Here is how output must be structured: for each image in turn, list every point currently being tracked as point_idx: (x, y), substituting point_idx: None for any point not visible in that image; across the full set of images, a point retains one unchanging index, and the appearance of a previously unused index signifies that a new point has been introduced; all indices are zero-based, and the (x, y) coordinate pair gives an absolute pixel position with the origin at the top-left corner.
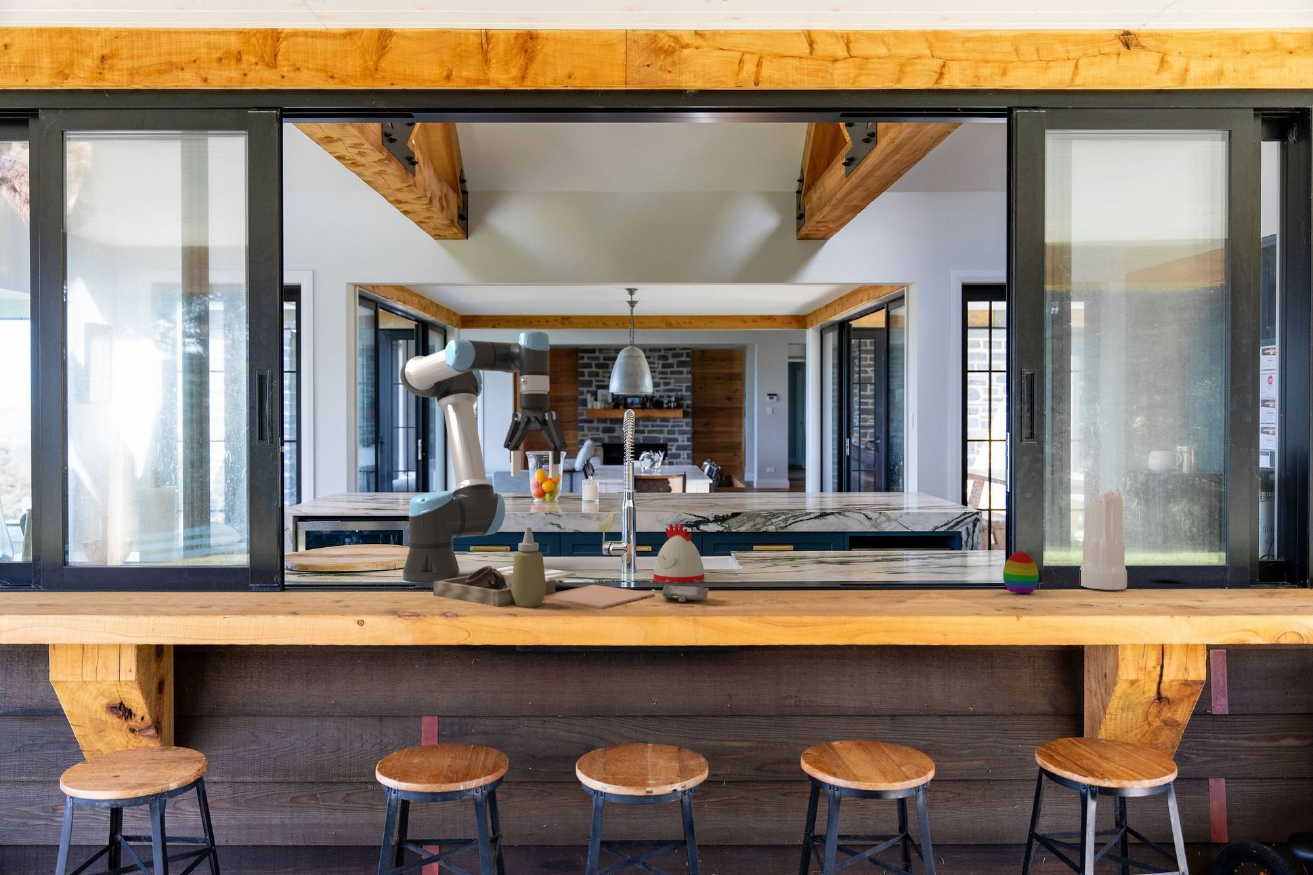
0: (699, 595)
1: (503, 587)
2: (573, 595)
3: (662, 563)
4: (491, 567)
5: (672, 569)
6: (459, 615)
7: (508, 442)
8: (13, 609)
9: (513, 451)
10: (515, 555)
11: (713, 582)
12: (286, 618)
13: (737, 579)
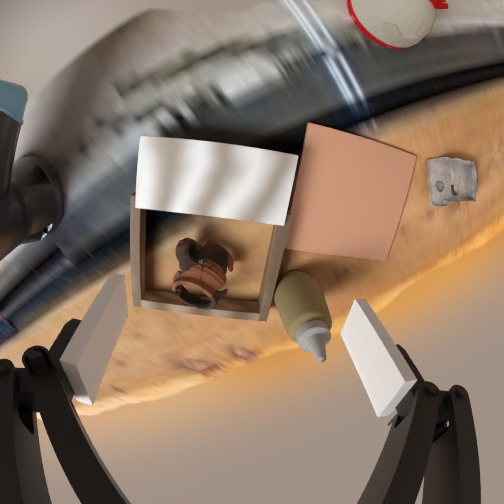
0: (468, 191)
1: (229, 269)
2: (326, 218)
3: (393, 35)
4: (210, 292)
5: (405, 43)
6: (254, 352)
7: (36, 428)
8: None
9: (92, 401)
10: (295, 341)
11: (434, 39)
12: (134, 401)
13: (444, 16)
